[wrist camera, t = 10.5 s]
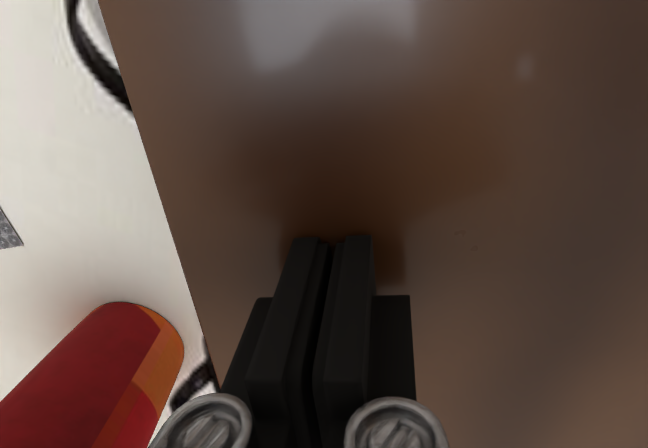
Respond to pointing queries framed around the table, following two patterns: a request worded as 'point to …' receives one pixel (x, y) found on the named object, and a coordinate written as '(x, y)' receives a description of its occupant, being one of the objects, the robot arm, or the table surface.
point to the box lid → (420, 185)
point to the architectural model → (7, 234)
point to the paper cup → (97, 384)
